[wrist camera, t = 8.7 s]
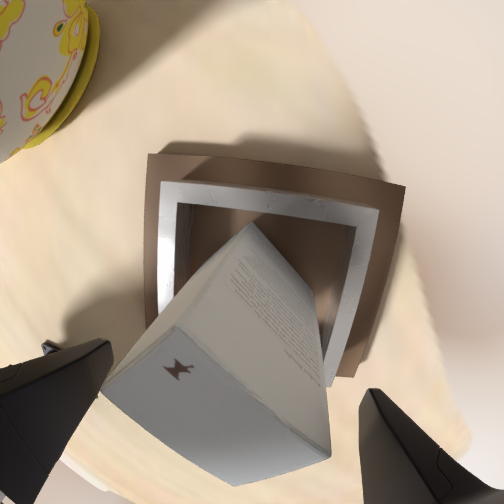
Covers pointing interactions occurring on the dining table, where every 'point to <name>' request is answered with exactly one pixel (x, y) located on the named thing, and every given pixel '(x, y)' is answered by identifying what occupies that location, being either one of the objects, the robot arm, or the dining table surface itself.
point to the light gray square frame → (276, 202)
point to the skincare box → (233, 368)
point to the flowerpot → (42, 67)
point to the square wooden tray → (280, 230)
